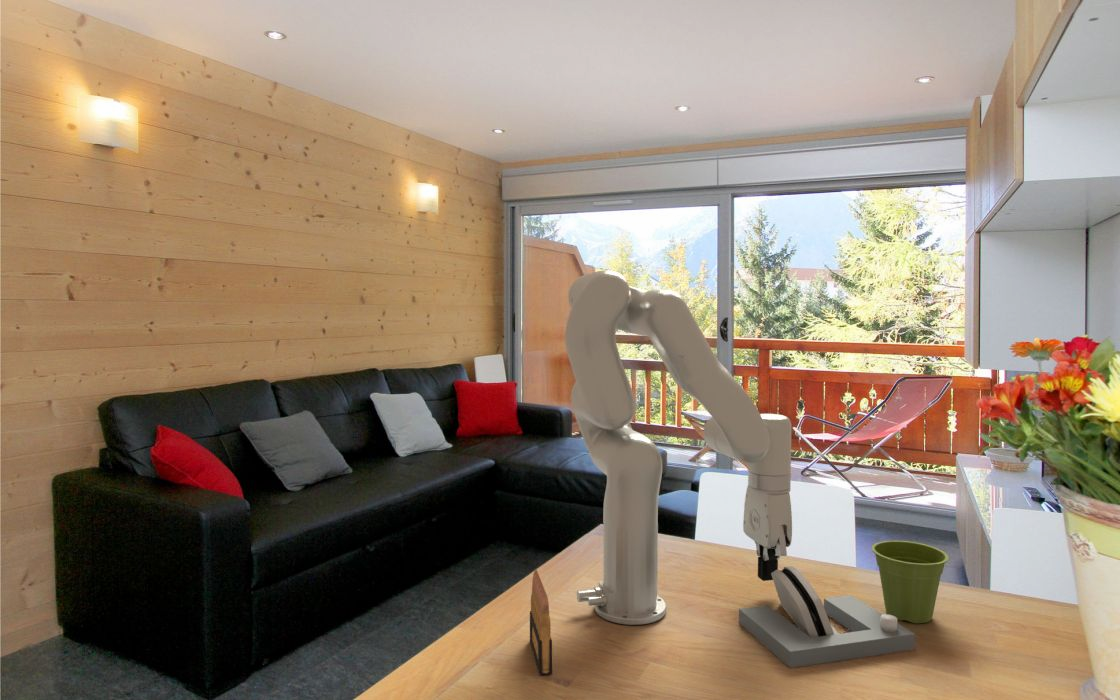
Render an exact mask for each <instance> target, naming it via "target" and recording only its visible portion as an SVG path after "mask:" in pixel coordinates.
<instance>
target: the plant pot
mask: <svg viewBox="0 0 1120 700" xmlns="http://www.w3.org/2000/svg"><path fill="white" fill-rule="evenodd" d="M871 551H872V553H873V554H874V555H875V559H876V564H877V567H878V571H879V576H880V577H879V578H880V583H881V589H882V590H881V591H882V596H883V602H884V608H885V609H884V610H885V611H886V614H888V615H893V616H895V617H896V618H897V621H907V622H910V623H913V624H923V623H929V622H930V621H931V620H932V619H933V618H934V617H933V616H934V611H935V606H936V601H937V596H938V591H939V587H940V581H941V577H942V576H941V575H942V574H943V571H944V567H945V564H946V563H948V561H949V555H948V554H947V553H946V552H945V551H943V550H941V549H940V548H937V547H935V546H932V545H928V544H924V543H920V542H913V541H907V540H884V541H879V542H876V543H874V544H873V545H872V546H871Z"/></svg>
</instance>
